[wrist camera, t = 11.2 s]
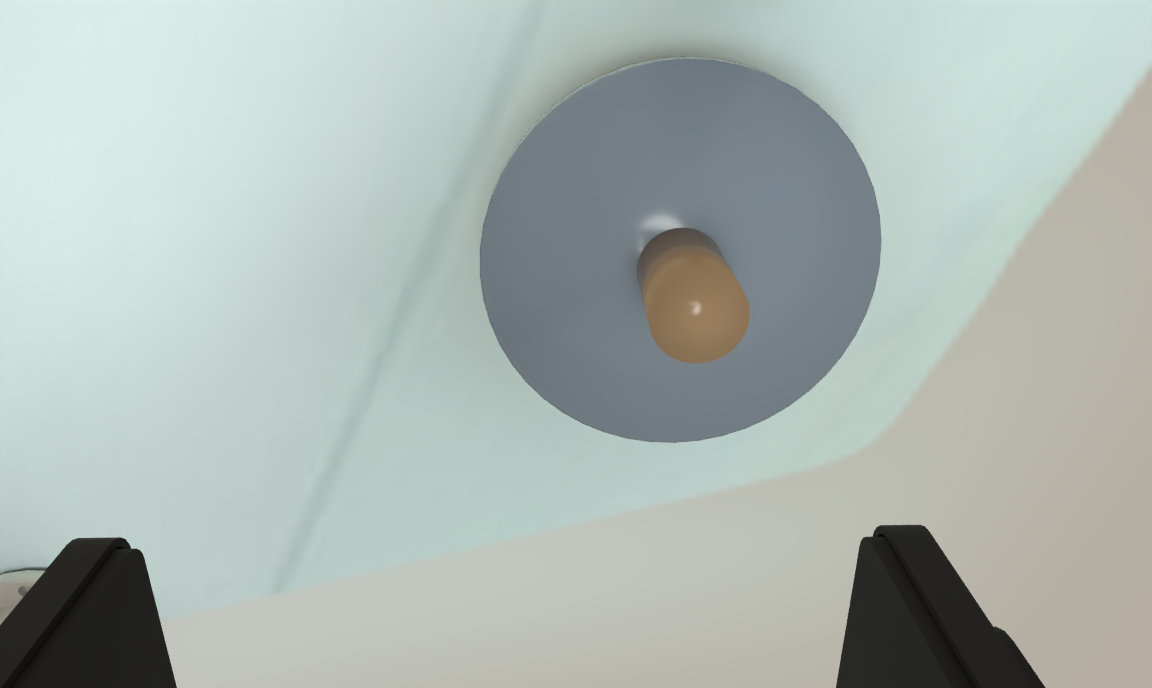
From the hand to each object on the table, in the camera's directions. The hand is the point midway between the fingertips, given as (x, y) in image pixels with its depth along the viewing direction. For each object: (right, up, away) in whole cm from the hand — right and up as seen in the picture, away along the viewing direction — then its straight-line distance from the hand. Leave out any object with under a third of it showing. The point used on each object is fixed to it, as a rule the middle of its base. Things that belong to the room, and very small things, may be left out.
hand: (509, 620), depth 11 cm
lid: (+5, +7, +24) cm, 25 cm away
